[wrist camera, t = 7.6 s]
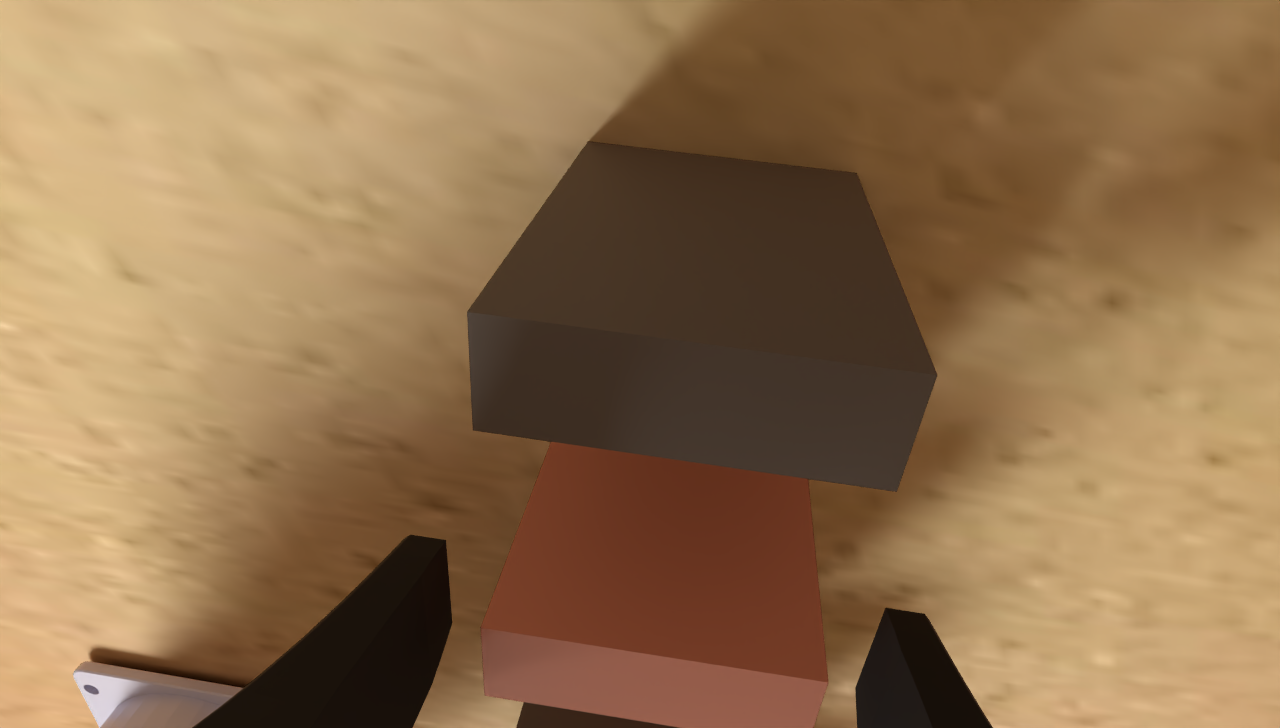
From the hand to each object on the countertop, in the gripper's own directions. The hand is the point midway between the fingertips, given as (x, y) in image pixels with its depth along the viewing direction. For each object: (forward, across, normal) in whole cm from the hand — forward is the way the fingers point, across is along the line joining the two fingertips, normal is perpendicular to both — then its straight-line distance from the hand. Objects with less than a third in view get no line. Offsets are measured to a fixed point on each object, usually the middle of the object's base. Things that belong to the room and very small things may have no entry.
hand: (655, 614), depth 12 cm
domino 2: (+6, 0, 0) cm, 6 cm away
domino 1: (+6, 0, -5) cm, 8 cm away
